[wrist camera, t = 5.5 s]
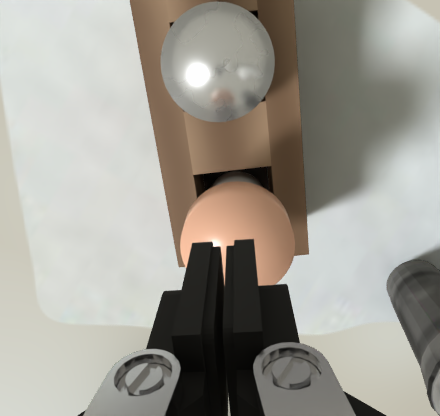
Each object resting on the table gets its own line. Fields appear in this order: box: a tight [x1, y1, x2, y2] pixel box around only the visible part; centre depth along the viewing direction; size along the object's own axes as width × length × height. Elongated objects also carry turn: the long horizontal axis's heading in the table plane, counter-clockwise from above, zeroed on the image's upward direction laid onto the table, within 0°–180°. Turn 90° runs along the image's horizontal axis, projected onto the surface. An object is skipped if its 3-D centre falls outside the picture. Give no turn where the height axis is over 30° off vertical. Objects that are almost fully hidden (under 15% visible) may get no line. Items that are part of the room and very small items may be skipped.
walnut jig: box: [130, 0, 309, 267], centre depth 29 cm, size 9×17×6 cm, turn 7°
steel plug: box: [161, 1, 275, 122], centre depth 26 cm, size 6×6×8 cm
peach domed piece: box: [180, 171, 295, 286], centre depth 26 cm, size 6×6×8 cm
